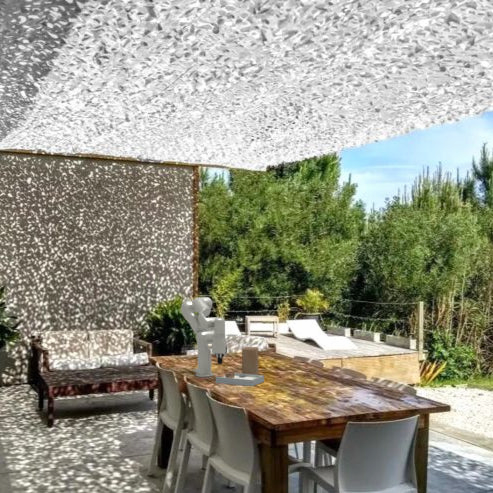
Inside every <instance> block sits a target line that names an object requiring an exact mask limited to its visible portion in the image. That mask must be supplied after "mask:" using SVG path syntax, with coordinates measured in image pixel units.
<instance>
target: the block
mask: <svg viewBox="0 0 493 493" xmlns="http://www.w3.org/2000/svg"><path fill="white" fill-rule="evenodd" d="M241 374H251V375H259V347H257V346H245V347H242V349H241Z"/></svg>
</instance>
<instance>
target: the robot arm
mask: <svg viewBox="0 0 493 493" xmlns="http://www.w3.org/2000/svg"><path fill="white" fill-rule="evenodd" d="M212 306H213V300H212V299H211V298H210V297H207V296H204V297H202V296H201V297H200V296H199V297H194V298H193V300H187V301H184V302H182V303H181V305H180V309H181V310H180V311H181V314H182V316H183V317H184V319H185V320H186V321H187V322H188V324H189V326H190V328H191V330H192V331H193V332H194V333H195V334H196V336H195V338H196V344H197V368H193V373H195V377H198V378H207V377H209V378H210V377H213V376H214V373H213V372H212V355H213V356H215V357H216V358H217V361H216V362H217V364H218V365H221V364H223V358H224V356H227V355H228V341H227V337H226V320H225V318H222V317H217V316H216V317H213V316H211V317H208V316H209V315H210V313H211V308H212ZM196 313H197V314H196ZM210 345H211V347H210Z"/></svg>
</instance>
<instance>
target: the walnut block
mask: <svg viewBox="0 0 493 493" xmlns="http://www.w3.org/2000/svg"><path fill="white" fill-rule="evenodd" d="M234 373H235V372H226V373H225V375H224V376H225V377H226V378H234Z"/></svg>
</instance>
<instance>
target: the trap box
mask: <svg viewBox="0 0 493 493" xmlns="http://www.w3.org/2000/svg"><path fill="white" fill-rule="evenodd" d="M233 373H234V378H226V377H225V375H224V376H215V383H216V384H221V383H222V384H223V385H234V386H243V387H244V386H245V387H254V386H257V385H260V384H262V383H264V382H265V375H262V374H258V375H251V374H242V373H237V372H233Z"/></svg>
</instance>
